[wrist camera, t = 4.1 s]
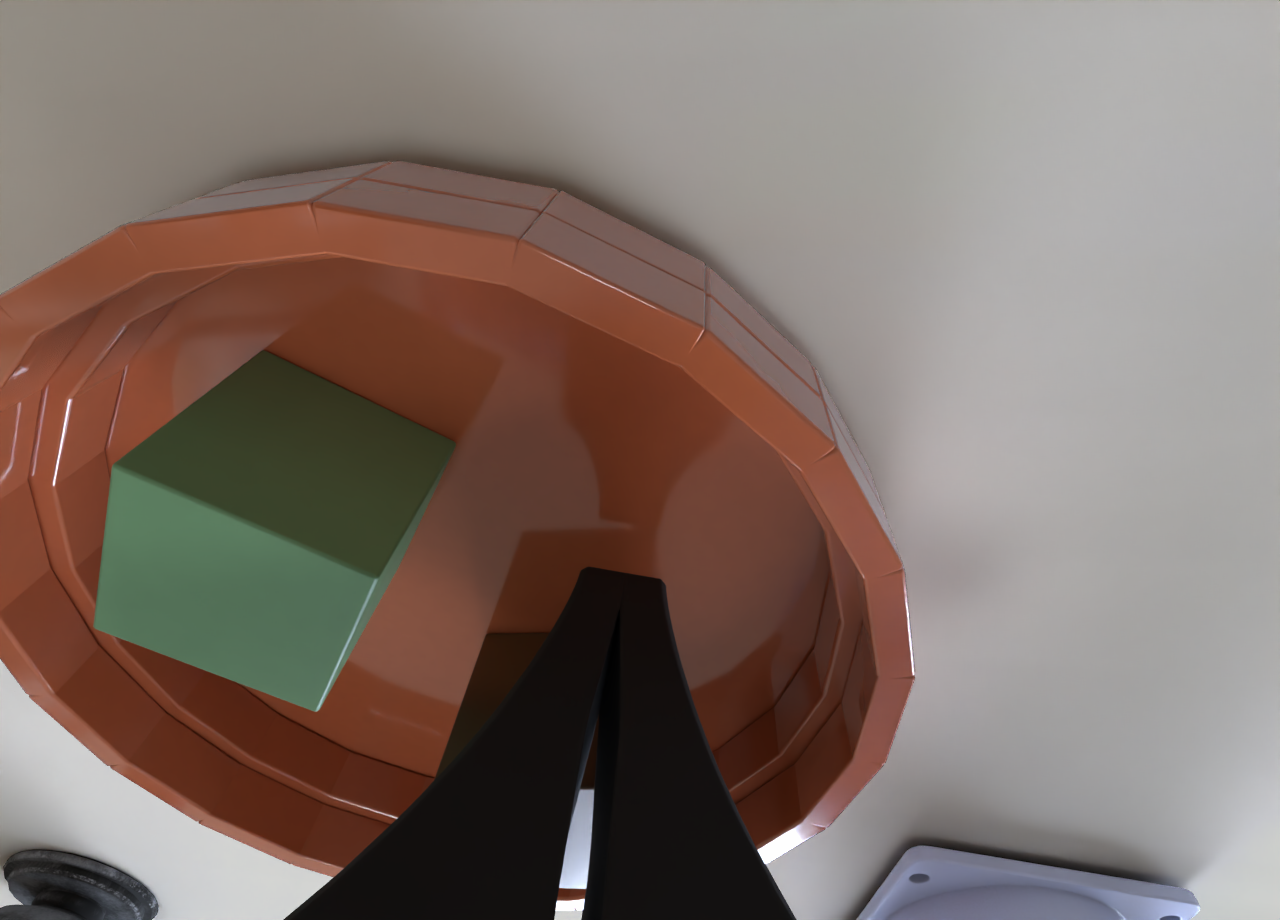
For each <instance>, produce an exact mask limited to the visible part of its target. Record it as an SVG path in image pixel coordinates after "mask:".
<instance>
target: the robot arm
mask: <svg viewBox="0 0 1280 920" xmlns="http://www.w3.org/2000/svg"><path fill="white" fill-rule="evenodd" d="M598 716H599V724H598V740H597V755H596V770H595V786H594V802H593V818H592V833H591V849H590V859H589V869H588V879H587V886H586V893H585V899H584V906H583V913H582V920H796V918H795V917H794V915H793V913H792V911H791V909H790V908H789V906H788V904H787V902H786V900H785V899H784V897H783V895H782V893H781V891H780V890H779V888H778V886H777V884H776V882H775V881H774V879H773V877H772V875H771V873H770V872H769V870H768V868H767V866H766V864H765V863H764V861H763V859H762V857H761V855H760V854H759V852H758V850H757V848H756V846H755V844H754V842H753V840H752V838H751V836H750V834H749V832H748V830H747V828H746V826H745V824H744V822H743V820H742V818H741V816H740V814H739V812H738V810H737V808H736V806H735V803H734V801H733V799H732V797H731V795H730V792H729V790H728V788H727V786H726V784H725V781H724V779H723V777H722V775H721V772H720V770H719V768H718V765H717V763H716V760H715V758H714V755H713V753H712V751H711V748H710V746H709V743H708V740H707V738H706V735H705V732H704V730H703V727H702V724H701V722H700V719H699V716H698V713H697V710H696V708H695V705H694V702H693V699H692V696H691V693H690V689H689V686H688V683H687V680H686V676H685V673H684V670H683V667H682V663H681V660H680V656H679V652H678V649H677V645H676V640H675V636H674V632H673V628H672V623H671V618H670V613H669V607H668V600H667V592H666V585H665V583H664V582H663V581H662V580H661V579H659V578H653V577H647V576H641V575H636V574H630V573H624V572H618V571H612V570H607V569H601V568H595V567H589V566H588V567H586V568H584V569H582V570H581V571H580V574H579V577H578V580H577V582H576V585H575V587H574V589H573V591H572V594H571V596H570V598H569V600H568V602H567V604H566V605H565V607H564V609H563V611H562V613H561V614H560V616H559V618H558V620H557V621H556V623H555V625H554V627H553V628H552V630H551V632H550V633H549V635H548V636H547V638H546V639H545V641H544V642H543V644H542V646H541V647H540V649H539V650H538V652H537V653H536V655H535V656H534V658H533V660H532V661H531V662H530V664H529V665H528V667H527V668H526V670H525V671H524V672H523V674H522V675H521V676H520V678H519V679H518V681H517V682H516V683H515V685H514V686H513V687H512V689H511V690H510V691H509V693H508V694H507V695H506V697H505V698H504V699H503V701H502V702H501V704H500V705H499V706H498V707H497V709H496V710H495V711H494V712H493V714H492V715H491V716H490V717H489V719H488V720H487V721H486V722H485V724H484V725H483V726H482V727H481V728H480V730H479V731H478V732H477V733H476V734H475V736H474V737H473V738H472V739H471V740H470V741H469V743H468V744H467V745H466V746H465V747H464V748H463V750H462V751H461V752H460V753H459V754H458V755H457V756H456V758H455V759H454V760H453V761H452V762H451V763H450V764H449V765H448V766H447V767H446V768H445V769H444V771H443V772H442V773H441V774H440V775H439V776H438V777H437V778H436V779H435V780H434V781H433V782H432V783H431V784H430V785H429V787H428V788H427V789H426V790H425V791H424V792H423V793H422V794H421V795H420V796H419V797H418V798H417V799H416V800H415V801H414V802H413V803H412V804H411V805H410V806H409V807H408V808H407V809H406V810H405V811H404V812H403V813H402V814H401V815H400V816H399V817H398V818H397V819H396V820H395V821H394V822H393V823H392V824H391V825H390V826H389V827H388V828H386V829H385V830H384V831H383V832H382V833H381V834H380V835H379V836H378V837H377V838H376V839H375V840H374V841H373V842H372V843H370V844H369V845H368V846H367V847H366V848H365V849H364V850H363V851H362V852H361V853H360V854H359V855H358V856H357V857H355V858H354V859H353V860H352V861H351V862H350V863H349V864H348V865H347V866H346V867H345V868H344V869H343V870H341V871H340V872H339V873H338V874H337V875H336V876H335V877H334V878H332V879H331V880H330V881H329V882H328V883H327V884H326V885H324V886H323V887H322V888H321V889H320V890H318V891H317V892H316V893H315V894H314V895H312V896H311V897H310V898H309V899H308V900H306V901H305V902H304V903H303V904H302V905H300V906H299V907H298V908H297V909H296V910H294V911H293V912H292V913H291V914H290V915H289V916H287V917H286V918H285V919H284V920H554V916H555V910H556V904H557V898H558V892H559V886H560V880H561V874H562V868H563V862H564V856H565V850H566V844H567V838H568V834H569V830H570V826H571V822H572V818H573V814H574V810H575V806H576V803H577V799H578V795H579V791H580V787H581V783H582V779H583V775H584V771H585V767H586V763H587V759H588V755H589V751H590V747H591V744H592V740H593V736H594V732H595V728H596V724H597V720H598ZM1199 911H1200V905H1199V903H1198V901H1197V899H1196V898H1195V896H1194V894H1193V893H1192V892H1191V891H1189V890H1187V889H1184V888H1180V887H1174V886H1167V885H1161V884H1155V883H1149V882H1143V881H1137V880H1131V879H1125V878H1119V877H1113V876H1107V875H1101V874H1095V873H1089V872H1083V871H1077V870H1071V869H1065V868H1059V867H1053V866H1047V865H1041V864H1035V863H1029V862H1023V861H1017V860H1011V859H1005V858H999V857H993V856H987V855H981V854H975V853H969V852H963V851H957V850H951V849H945V848H939V847H933V846H924V845H921V846H915V847H912V848H910V849H909V850H907V851H906V852H905V853H904V855H903V856H902V858H901V859H900V860H899V862H898V863H897V864H896V866H895V867H894V869H893V870H892V871H891V873H890V874H889V875H888V877H887V878H886V880H885V881H884V882H883V884H882V885H881V886H880V888H879V889H878V890H877V892H876V893H875V895H874V896H873V897H872V899H871V900H870V901H869V903H868V904H867V906H866V907H865V908H864V910H863V911H862V912H861V914H860V915H859V916H858V918H857V919H856V920H1190V919H1191V918H1192V917H1194V916H1195V915H1196V914H1197V913H1198V912H1199Z"/></svg>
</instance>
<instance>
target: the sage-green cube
mask: <svg viewBox="0 0 1280 920" xmlns="http://www.w3.org/2000/svg"><path fill="white" fill-rule="evenodd" d="M455 447H456V443H455V442H454V441H452V440H450V439H448V438H446V437H444V436H442V435H440V434H438V433H435V432H433V431H431V430H429V429H427V428H425V427H423V426H421V425H419V424H417V423H415V422H413V421H410V420H408V419H406V418H404V417H402V416H400V415H398V414H396V413H394V412H392V411H390V410H388V409H386V408H383V407H381V406H379V405H377V404H375V403H373V402H371V401H369V400H367V399H365V398H363V397H361V396H359V395H356V394H354V393H352V392H350V391H348V390H346V389H344V388H342V387H340V386H338V385H336V384H334V383H331V382H329V381H327V380H325V379H323V378H321V377H319V376H317V375H315V374H313V373H311V372H309V371H307V370H304V369H302V368H300V367H298V366H296V365H294V364H292V363H290V362H288V361H286V360H284V359H282V358H280V357H277V356H275V355H273V354H271V353H269V352H267V351H264V350H262V351H260V352H259V353H258V354H257V355H255V356H254V357H253V358H251V359H250V360H249V361H247V362H246V363H245V364H243V365H242V366H241V367H240V368H238V369H237V370H236V371H234V372H233V373H232V374H230V375H229V376H228V377H226V378H225V379H224V380H223V381H221V382H220V383H219V384H217V385H216V386H215V387H213V388H212V389H211V390H209V391H208V392H207V393H206V394H204V395H203V396H202V397H200V398H199V399H198V400H196V401H195V402H194V403H192V404H191V405H190V406H189V407H187V408H186V409H185V410H183V411H182V412H181V413H179V414H178V415H177V416H175V417H174V418H173V419H171V420H170V421H169V422H168V423H166V424H165V425H164V426H162V427H161V428H160V429H158V430H157V431H156V432H154V433H153V434H152V435H151V436H149V437H148V438H147V439H145V440H144V441H143V442H141V443H140V444H139V445H137V446H136V447H135V448H134V449H132V450H131V451H130V452H128V453H127V454H126V455H124V456H123V457H122V458H120V459H119V460H118V461H117V462H115V463H114V464H113V466H112V470H111V478H110V487H109V496H108V504H107V513H106V521H105V530H104V538H103V547H102V556H101V564H100V573H99V581H98V590H97V599H96V607H95V616H94V624H93V627H94V628H95V629H97V630H99V631H102V632H105V633H107V634H110V635H113V636H115V637H118V638H121V639H123V640H126V641H129V642H131V643H134V644H137V645H139V646H142V647H145V648H147V649H150V650H152V651H155V652H158V653H160V654H163V655H166V656H168V657H171V658H174V659H176V660H179V661H182V662H184V663H187V664H190V665H192V666H195V667H198V668H200V669H203V670H206V671H208V672H211V673H213V674H216V675H219V676H221V677H224V678H227V679H229V680H232V681H235V682H237V683H240V684H243V685H245V686H248V687H251V688H253V689H256V690H259V691H261V692H264V693H266V694H269V695H272V696H274V697H277V698H280V699H282V700H285V701H288V702H290V703H293V704H296V705H298V706H301V707H304V708H306V709H309V710H312V711H314V712H317V711H318V710H320V708H321V706H322V705H323V703H324V701H325V699H326V697H327V695H328V694H329V692H330V690H331V688H332V686H333V685H334V683H335V681H336V679H337V677H338V676H339V674H340V672H341V670H342V668H343V667H344V665H345V663H346V661H347V659H348V658H349V656H350V654H351V652H352V650H353V649H354V647H355V645H356V643H357V641H358V640H359V638H360V636H361V634H362V632H363V631H364V629H365V627H366V625H367V623H368V621H369V620H370V618H371V616H372V614H373V612H374V611H375V609H376V607H377V605H378V603H379V602H380V600H381V598H382V596H383V594H384V593H385V591H386V589H387V587H388V585H389V584H390V582H391V580H392V578H393V576H394V575H395V573H396V571H397V569H398V567H399V565H400V563H401V561H402V559H403V557H404V555H405V553H406V551H407V548H408V546H409V544H410V542H411V540H412V538H413V536H414V534H415V531H416V529H417V527H418V525H419V523H420V521H421V519H422V517H423V515H424V512H425V510H426V508H427V506H428V504H429V502H430V500H431V498H432V496H433V493H434V491H435V489H436V487H437V485H438V483H439V481H440V479H441V476H442V474H443V472H444V470H445V468H446V466H447V464H448V462H449V460H450V457H451V455H452V453H453V451H454V449H455Z"/></svg>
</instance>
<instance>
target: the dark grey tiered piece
mask: <svg viewBox="0 0 1280 920" xmlns="http://www.w3.org/2000/svg"><path fill="white" fill-rule="evenodd" d="M3 869H4V876H5V879H6V880H7V882H8V885H9V890H10V891H11V893H12V894H13V896H14V897H15V898H16V899H18V900H19V901H20V902H21V903H22V904H23V905H9V906H4V907H2V908H0V920H152V919H153V918H154V917H155V916H156V914H157V911H158V904H157V902H156V900H155V898H154V896H153V895H152V894H151V893H150V892H149V891H148V890H147V889H146V888H145V887H144V886H142V885H141V884H139V883H138V882H137V881H135V880H134V879H132V878H131V877H129V876H127V875H125V874H123V873H121V872H119V871H118V870H116V869H114V868H111V867H109V866H106V865H104V864H101V863H99V862H96V861H93V860H90V859H86V858H83V857H79V856H76V855H72V854H66V853H61V852H55V851H41V850H32V851H25V852H19V853H17V854H15V855H13V856H11V857H10V858H9V859H8V860H7V862H6V863H5V865H4V866H3Z"/></svg>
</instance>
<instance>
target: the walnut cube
mask: <svg viewBox="0 0 1280 920" xmlns="http://www.w3.org/2000/svg"><path fill="white" fill-rule="evenodd" d="M548 635H549V633H497V634H486V635H485V638H484V641H483V643H482V646H481V649H480V652H479V655H478V657H477V660H476V663H475V666H474V669H473V672H472V674H471V677H470V680H469V683H468V686H467V688H466V691H465V694H464V697H463V700H462V703H461V705H460V708H459V711H458V714H457V717H456V719H455V722H454V725H453V728H452V731H451V734H450V736H449V739H448V742H447V745H446V748H445V750H444V753H443V756H442V759H441V762H440V765H439V767H438V770H437V773H436V776H435V779H436V778H437V777H438V776H439V775H440V774H441V773H442V772H443V771H444V769H445V768H446V767H447V766H448V765H449V764H450V763H451V762H452V761H453V760H454V759H455V758H456V756H457V755H458V754H459V753H460V752H461V751H462V750H463V748H464V747H465V746H466V745H467V744H468V743H469V741H470V740H471V739H472V738H473V737H474V736H475V734H476V733H477V732H478V731H479V730H480V728H481V727H482V726H483V725H484V724H485V722H486V721H487V720H488V719H489V717H490V716H491V715H492V714H493V712H494V711H495V710H496V709H497V707H498V706H499V705H500V704H501V702H502V701H503V699H504V698H505V697H506V695H507V694H508V693H509V691H510V690H511V689H512V687H513V686H514V685H515V683H516V682H517V681H518V679H519V678H520V676H521V675H522V674H523V672H524V671H525V670H526V668H527V667H528V665H529V664H530V662H531V661H532V660H533V658H534V656H535V655H536V653H537V652H538V650H539V649H540V647H541V646H542V644H543V642H544V641H545V639H546V638H547V636H548ZM598 724H599V716H598V720H597V724H596V728H595V732H594V736H593V740H592V744H591V747H590V751H589V755H588V759H587V763H586V767H585V771H584V775H583V779H582V783H581V787H580V791H579V795H578V799H577V803H576V806H575V810H574V814H573V818H572V822H571V826H570V830H569V834H568V838H567V844H566V850H565V856H564V862H563V868H562V874H561V880H560V886H559V888H575V889H586V886H587V879H588V869H589V859H590V849H591V833H592V818H593V802H594V786H595V770H596V755H597V740H598ZM435 779H434V780H435Z"/></svg>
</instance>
